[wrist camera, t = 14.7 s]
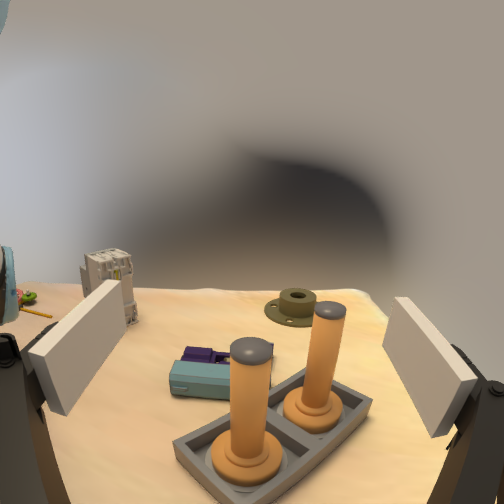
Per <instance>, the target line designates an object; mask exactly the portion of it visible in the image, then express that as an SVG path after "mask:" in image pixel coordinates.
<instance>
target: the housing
mask: <svg viewBox="0 0 504 504" xmlns="http://www.w3.org/2000/svg"><path fill="white" fill-rule="evenodd" d="M305 372H306V367H305V368H304V369H302V370H301V371H299V372H298V373H296V374H295V375H293V376H291V377H290V378H288V379H287V380H285V381H283V382H282V383H280V384H278V385H277V386H275V387H274V388H272V389H270V390H269V395H268V406H267V416H266V427H265V431H267V432H269V433H270V434H272V435H273V436H274V437H275V438H276V439H277V440H278V441H279V442H280V444H281V447H282V451H283V454H282V460H281V466H280V469H279V471H278V473H277V474H276V475H275V477H274V478H272V479H271V480H270V481H268V482H266V483H264V484H261V485H258V486H252V487H242V486H236V485H233V484H230V483H228V482H226V481H224V480H223V479H221V478H220V477H219V476H218V475H217V474H216V472H215V471H214V469H213V466H212V458H211V447H212V444H213V442H214V441H215V439H216V438H217V437H218V436H219V435H220V434H222V433H223V432H225V431H227V430H230V413H228V414H226V415H224V416H222V417H221V418H219V419H217V420H215V421H213V422H211V423H209V424H207V425H205V426H203V427H201V428H199V429H197V430H195V431H193V432H191V433H189V434H187V435H185V436H183V437H180V438H178V439H176V440H174V441H172V442H173V447H174V451H175V456H176V459H177V460H178V461H179V462H180V463H181V464H182V465H183V466H184V467H185V468H186V469H187V471H188V472H189V473H190V474H191V475H192V476H193V477H194V478H195V479H196V480H197V481H198V482H199V483H200V484H201V485H202V486H203V487H204V488H205V489H206V490H207V491H208V492H209V493H210V494H211V495H212V496H213V497H214V498H215V499H216V500H217V501H218V502H220V503H221V504H270V503H271V502H273V501H274V500H275V499H277V498H278V497H279V496H280V495H282V494H283V493H284V492H286V491H287V490H288V489H289V488H291V487H292V486H293V485H294V484H296V483H297V482H298V481H299V480H300V479H302V478H303V477H304V476H305V475H306V474H308V473H309V472H310V471H311V470H312V469H313V468H315V467H316V466H317V465H318V464H319V463H320V462H321V461H322V460H323V459H325V458H326V457H327V456H328V455H329V454H330V453H331V452H332V451H333V450H334V449H335V448H336V447H337V446H338V445H339V444H340V443H342V442H343V441H344V440H345V439H346V438H347V437H348V436H349V435H350V434H351V433H352V432H353V431H354V429H355V428H356V427H357V426H358V425H359V424H360V423H361V422H362V421H363V420H364V419H365V418H366V417H367V415H368V412H369V409H370V406H371V404H372V401H373V399H371V398H369V397H367V396H365V395H363V394H361V393H359V392H357V391H355V390H353V389H351V388H349V387H347V386H345V385H342V384H340V383H338V382H336V381H335V380H333V381H332V385H331V391H332V392H334V393H335V394H337V395H338V396H339V398H340V399H341V401H342V405H343V408H342V412H341V416H340V419H339V422H338V424H337V425H336V426H335V427H334V428H333V429H331V430H330V431H328V432H325V433H321V434H309V433H308V432H306V431H304V430H303V429H301V428H300V427H298V426H296V425H295V424H293V423H292V422H290V421H289V420H287V419H286V418H284V417H283V414H282V413H283V405H284V399H285V397H286V395H287V394H288V393H289V392H290V391H292V390H294V389H296V388H299V387H303V384H304V378H305Z"/></svg>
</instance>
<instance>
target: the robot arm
mask: <svg viewBox="0 0 504 504" xmlns="http://www.w3.org/2000/svg"><path fill="white" fill-rule="evenodd" d="M9 2H10V0H0V34H1V32H2V30H3V27H4V25H5V21H6V18H7V13H8V5H9ZM18 316H19V306H18V299H17V292H16V282H15V272H14V260H13V251H12V249H11V247H5V246H0V326H2V325H4V324H5V323H9V322H13V321H15V320H16V319H17V318H18ZM126 331H127V327H126V320H125V312H124V304H123V296H122V287H121V281H118V280H109V279H107V280H106V281H105V282H104V283H102V284H101V285H100V286H99V287H98V288H97V289H95V290H94V291H93V292H92V293H91V294H90V295H89V296H87V297H86V298H85V299H84V300H83V301H82V302H81V303H79V304H78V305H77V306H76V307H75V308H74V309H73V310H72V311H71V312H69V313H68V314H67V315H66V316H65V317H64V318H63V319H62V320H61V321H60V322H55V323H53V324H51V325H49V326H47V327H46V328H45V329H44V330H43V331H42V332H41V334H38V335H37V336H36V337H35V339H33V340H32V341H31V342H30V343H29V344H28V345H27V346H25V347H24V348H23V349H22V350H21V351H19V348H18V345H17V342H16V339H15V336H13V335H12V334H9V333H0V504H71V502H70V500H69V497H68V495H67V492H66V489H65V486H64V483H63V480H62V478H61V474H60V471H59V468H58V465H57V462H56V458H55V455H54V451H53V448H52V444H51V440H50V436H49V432H48V428H47V424H46V419H45V415H44V411H43V409H42V407H41V405H42V404H43V403H44V401H45V400H46V401H47V404H48V406H49V408H50V411H52V412H55V413H57V414H60V415H63V416H66V417H67V415H68V414H69V412H70V411H71V409H72V408H73V406H74V405H75V403H76V402H77V400H78V399H79V397H80V396H81V394H82V393H83V391H84V390H85V389H86V387H87V386H88V384H89V383H90V381H91V380H92V378H93V377H94V376H95V374H96V373H97V371H98V370H99V368H100V367H101V366H102V364H103V363H104V361H105V360H106V358H107V357H108V356H109V354H110V353H111V351H112V350H113V349H114V347H115V346H116V345H117V343H118V342H119V340H120V339H121V338H122V336H123V335H124V334H125V332H126ZM382 346H383V348H384V350H385V351H386V353H387V355H388V357H389V359H390V360H391V362H392V364H393V366H394V368H395V369H396V371H397V373H398V375H399V377H400V379H401V380H402V382H403V384H404V386H405V388H406V390H407V392H408V394H409V396H410V397H411V399H412V401H413V403H414V405H415V407H416V409H417V411H418V413H419V415H420V417H421V419H422V421H423V423H424V425H425V427H426V429H427V431H428V433H429V435H430V437H431V438H435V437H439V436H444V435H447V434H448V433H449V431H450V429H451V428H452V426H453V424H455V426H456V427H457V429H458V431H457V432H456V434H455V435H454V437H453V439H452V440H451V442H450V443H449V445H448V446H447V448H446V450H448V449H449V448H450V449H449V452H448V454H447V457H446V460H445V462H444V465H443V467H442V470H441V472H440V475H439V477H438V479H437V482H436V484H435V486H434V489H433V491H432V493H431V495H430V497H429V499H428V502H427V504H495V500H496V496H497V504H504V384H502V383H500V382H498V381H493V380H491V381H487V380H486V379H485V377H484V376H483V375H482V374H481V373H480V371H479V370H478V369H477V368H476V366H475V365H474V364H472V362H471V361H470V360H469V358H467V356H466V355H465V354H464V352H463V351H462V350H461V349H459V348H458V347H456V346H455V345H453V344H449V343H448V342H447V340H446V339H445V338H444V337H443V336H442V335H441V333H440V332H439V331H438V330H437V329H436V328H435V327H434V325H433V324H432V323H431V322H430V321H429V320H428V319H427V318H426V316H424V314H423V313H422V312H421V311H420V310H419V309H418V308H417V307H416V306H415V305H414V303H413V302H412V301H411V300H410V299H409V298H408V297H394V301H393V305H392V310H391V313H390V318H389V321H388V325H387V329H386V333H385V337H384V340H383V344H382Z"/></svg>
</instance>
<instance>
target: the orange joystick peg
mask: <svg viewBox="0 0 504 504" xmlns="http://www.w3.org/2000/svg"><path fill="white" fill-rule="evenodd" d="M271 361H272V345H271V344H270V343H269V342H267V341H266V340H264V339H261V338H256V337H244V338H240V339H237V340H235V341H234V342H233V343H232V344H231V345H230V430H227V431H225V432H223V433H222V434H220V435H219V436H218V437H217V438H216V439H215V441H214V442H213V444H212V447H211V458H212V466H213V469H214V471H215V472H216V474H217V475H218V476H219V477H220V478H221V479H223V480H224V481H226V482H228V483H230V484H233V485H236V486H242V487H252V486H258V485H261V484H264V483H266V482H268V481H270V480H271V479H272V478H274V477H275V475H276V474H277V473H278V471H279V469H280V466H281V460H282V454H283V451H282V447H281V444H280V442H279V441H278V440H277V439H276V438H275V437H274V436H273V435H272V434H270V433H269V432H267V431H265V427H266V416H267V406H268V395H269V384H270V373H271Z"/></svg>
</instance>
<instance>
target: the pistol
mask: <svg viewBox="0 0 504 504" xmlns="http://www.w3.org/2000/svg"><path fill="white" fill-rule="evenodd" d="M269 343H270V342H269ZM270 344H271V345H272V355H273V346H274V343H270ZM216 362H219V363H216ZM169 384H170V392H171V394H175V395H183V396H192V397H202V398H212V399H225V400H230V353H226V352H216V351H212V348H201V347H190V346H187V347H186V348H185V351H184V355H183V356H182V357H181V360H175V362H174V364H173V367H172V369H171V371H170V374H169ZM270 386H271V373H270V384H269V390H270Z"/></svg>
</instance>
